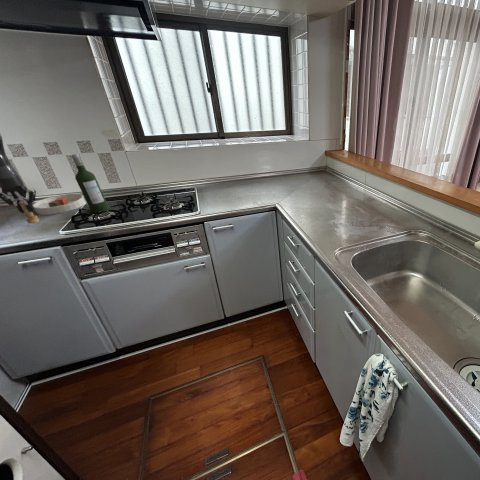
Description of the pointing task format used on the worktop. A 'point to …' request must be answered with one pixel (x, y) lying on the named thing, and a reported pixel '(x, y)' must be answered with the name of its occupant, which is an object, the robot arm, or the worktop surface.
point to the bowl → (73, 203)
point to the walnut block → (54, 203)
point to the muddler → (28, 214)
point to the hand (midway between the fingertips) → (27, 211)
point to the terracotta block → (62, 201)
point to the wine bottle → (89, 187)
